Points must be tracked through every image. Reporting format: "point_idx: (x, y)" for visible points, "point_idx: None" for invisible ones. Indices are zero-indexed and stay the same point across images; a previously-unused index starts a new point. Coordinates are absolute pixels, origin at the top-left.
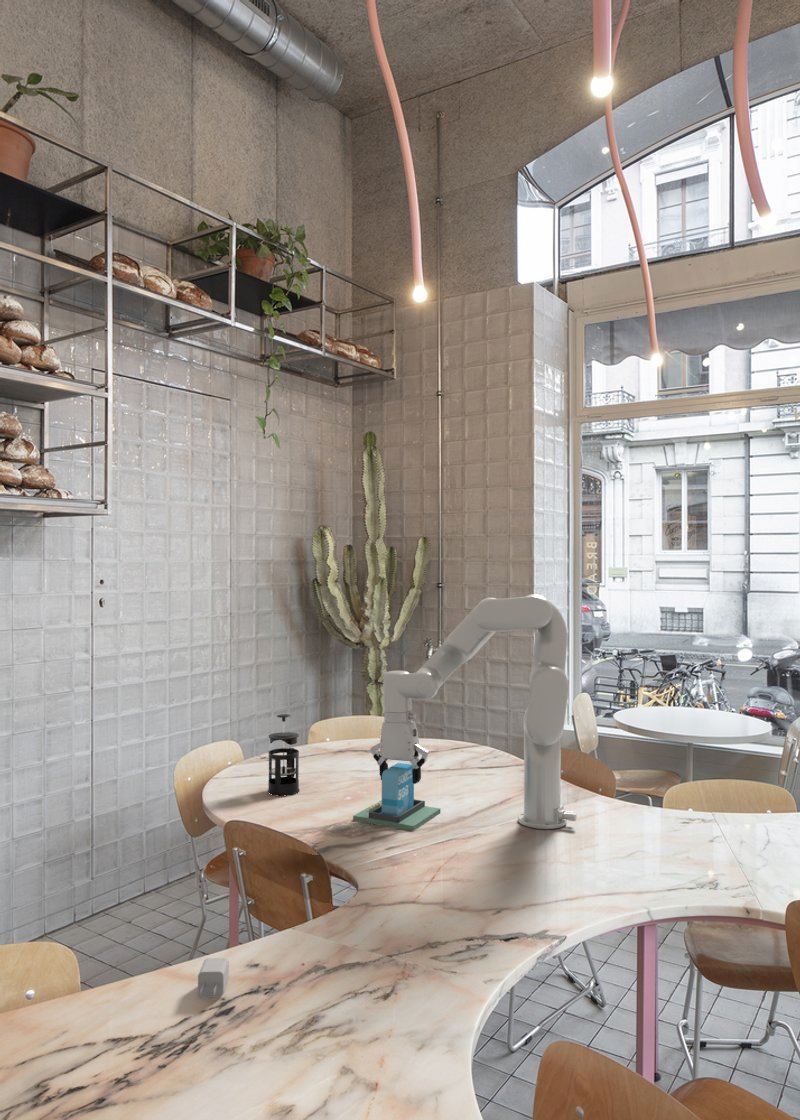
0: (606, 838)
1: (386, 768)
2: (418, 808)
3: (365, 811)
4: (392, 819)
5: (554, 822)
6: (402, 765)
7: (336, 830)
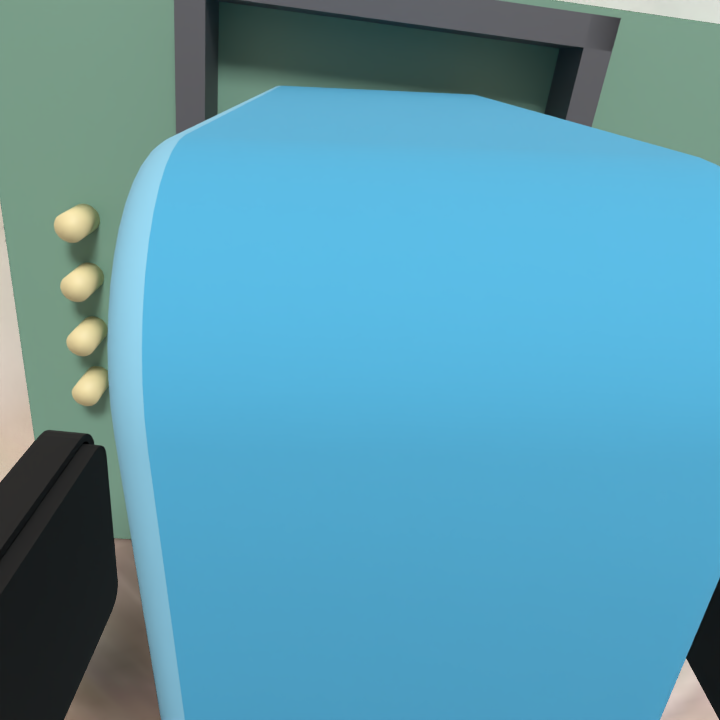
0: None
1: (9, 658)
2: None
3: (71, 415)
4: None
5: None
6: (459, 649)
7: (93, 679)
